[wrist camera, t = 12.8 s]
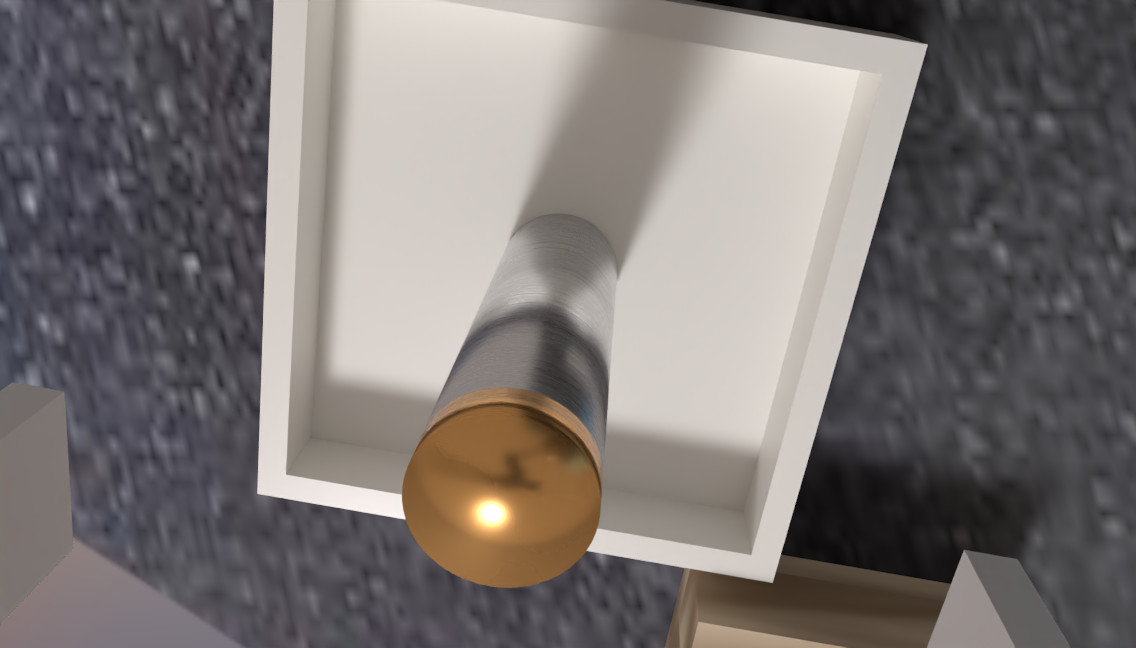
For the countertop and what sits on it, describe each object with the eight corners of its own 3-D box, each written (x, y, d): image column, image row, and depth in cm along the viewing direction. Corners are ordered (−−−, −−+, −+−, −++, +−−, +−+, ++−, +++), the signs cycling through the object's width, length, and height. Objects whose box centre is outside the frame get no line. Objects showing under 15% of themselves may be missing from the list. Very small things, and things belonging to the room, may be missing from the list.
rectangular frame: (318, -63, 24) (276, -65, 21) (894, 33, 24) (927, 44, 21) (293, 442, 30) (257, 493, 27) (760, 523, 30) (772, 582, 27)
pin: (510, 204, 26) (411, 399, 14) (626, 224, 26) (616, 434, 14) (496, 312, 27) (393, 569, 16) (606, 331, 27) (583, 602, 16)
